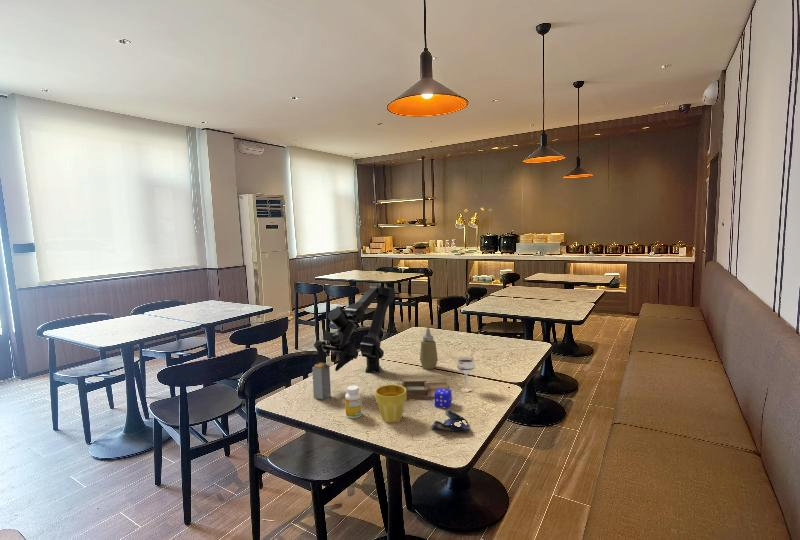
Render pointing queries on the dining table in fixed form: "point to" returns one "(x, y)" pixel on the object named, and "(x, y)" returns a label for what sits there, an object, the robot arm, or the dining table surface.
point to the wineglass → (465, 366)
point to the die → (443, 398)
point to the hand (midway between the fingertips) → (326, 368)
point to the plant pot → (391, 402)
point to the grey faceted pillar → (321, 381)
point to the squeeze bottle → (428, 351)
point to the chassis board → (422, 389)
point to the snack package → (451, 422)
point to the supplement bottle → (353, 402)
